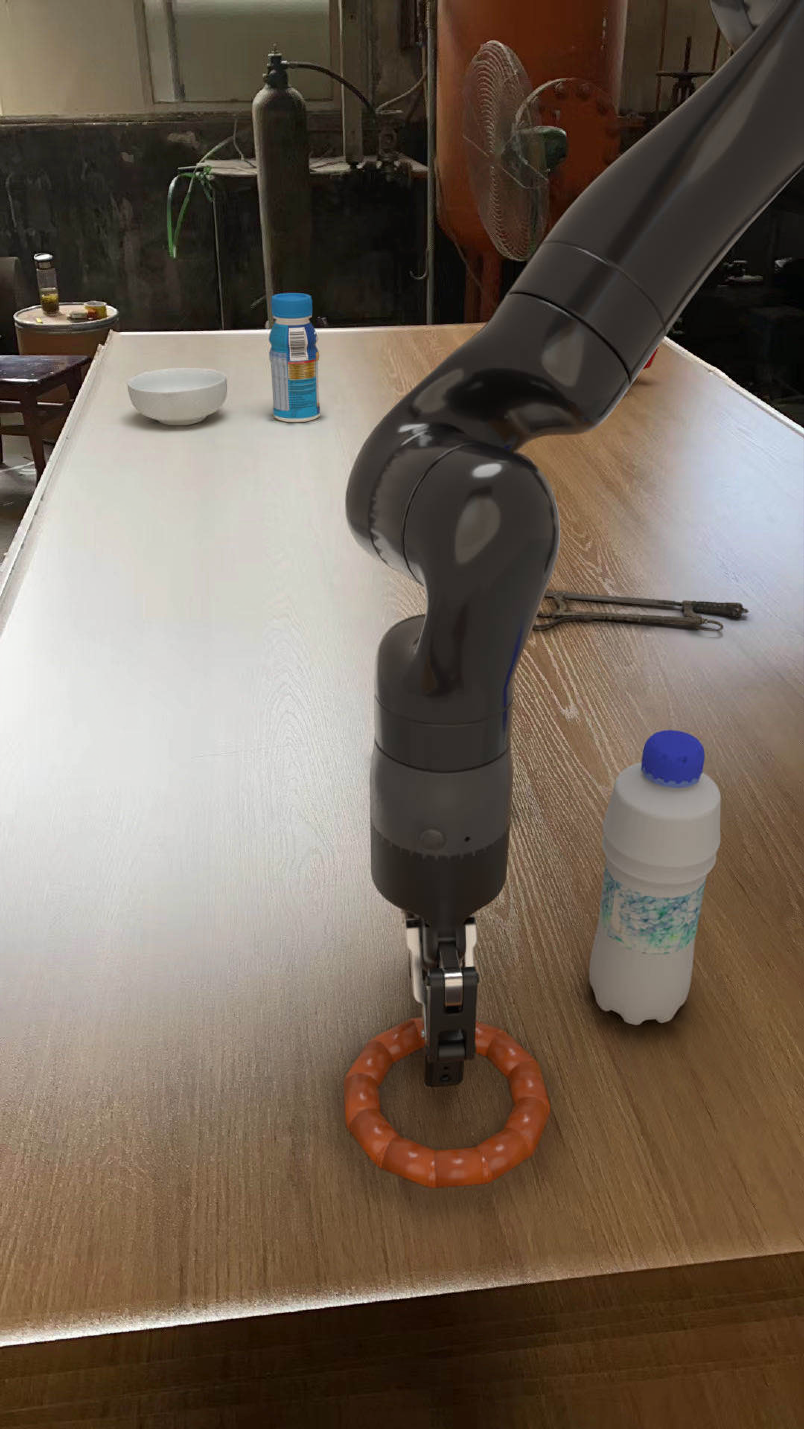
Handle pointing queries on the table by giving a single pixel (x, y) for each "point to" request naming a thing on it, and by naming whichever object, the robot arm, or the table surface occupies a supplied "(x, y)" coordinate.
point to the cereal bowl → (178, 394)
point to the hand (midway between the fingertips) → (433, 1026)
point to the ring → (451, 1163)
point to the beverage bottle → (294, 359)
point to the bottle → (654, 879)
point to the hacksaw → (687, 606)
